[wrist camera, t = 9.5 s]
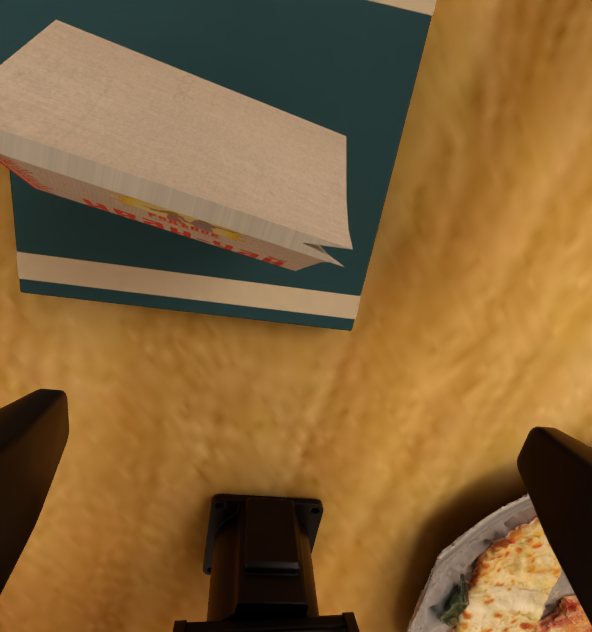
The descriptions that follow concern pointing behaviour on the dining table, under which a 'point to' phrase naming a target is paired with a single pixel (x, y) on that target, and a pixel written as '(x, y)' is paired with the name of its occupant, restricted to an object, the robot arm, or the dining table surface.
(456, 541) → the food plate
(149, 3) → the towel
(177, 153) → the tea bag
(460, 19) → the dining table surface
